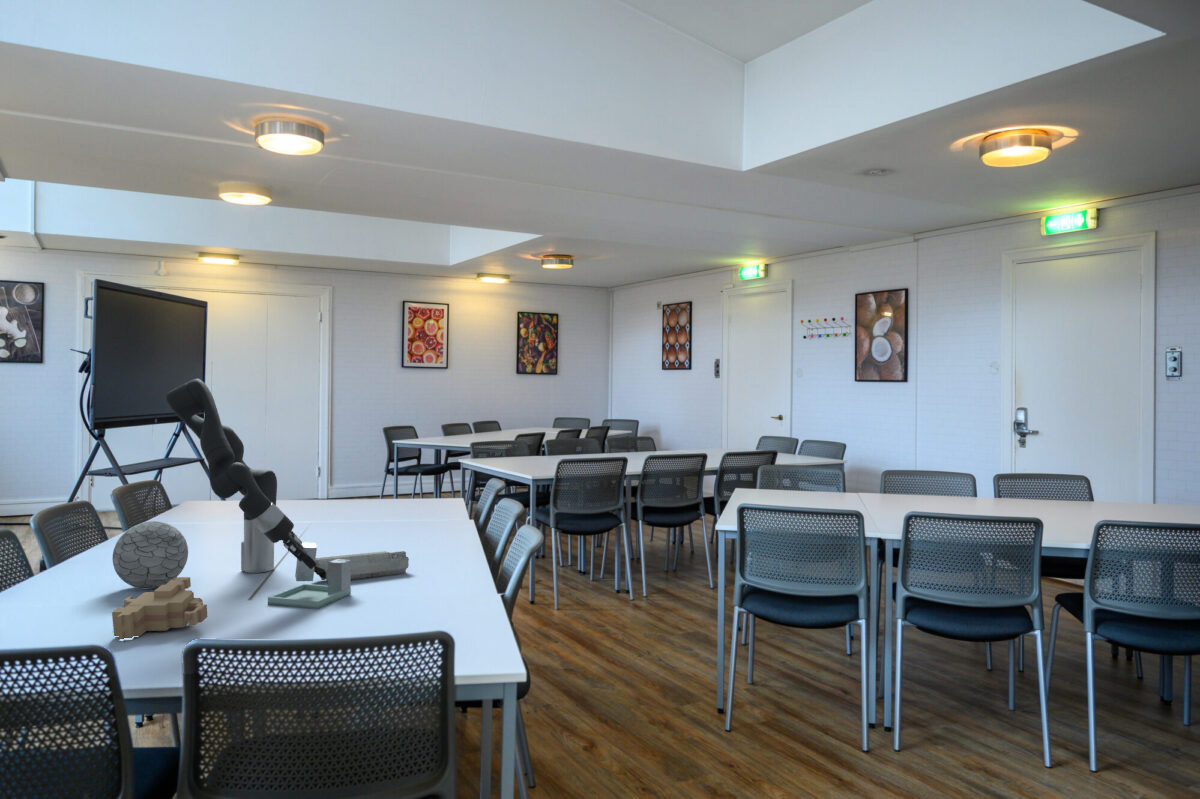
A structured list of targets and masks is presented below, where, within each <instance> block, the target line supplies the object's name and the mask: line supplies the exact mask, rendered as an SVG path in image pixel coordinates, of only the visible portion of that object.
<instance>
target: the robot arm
mask: <svg viewBox="0 0 1200 799" xmlns="http://www.w3.org/2000/svg"><path fill="white" fill-rule="evenodd" d="M165 400H166V403H167V405H168V406H169V408H170V409H171V411H172V412H173V413H174V414H175V415H176V416H177V417H178V418H179V419H180V420H181V421H182V422H183V423H184V424H185V425H186V426H187V427H188V428H189V430H191V431H192V432H193V433H194V435H195V436H196V437H197V438H198V439H199V443H200V444H199V446H200V448H201V451H202V454H203V455H204V458H205V459H206V462H207V465H208V466H207V467H208V473H209V474H208V476H209V485H210V487H211V490H212V491H213V493H214V494H215V496H217V497H219V498H221V499H229V498H231V497H233V496H234V495H235V494H237V493H238V492H239V493H240V494H241V495H242V496H243V497H242V498H241V499H240V501H239V503H238V507H239V509H240V510H241V511H242V512H243V541H241V542H240V546H241V547H240V570H242V571H241V572H244V571H245V572H244V573H250V574H251V573H252V574H256V573H258V574H260V573H265V572H266V573H267V572H271V571H273V570H274V569H275V544H276V543H278V542H279V541H282V543H283V544H282V545H283V547H284V548H285V549H286V550H287V552H290V554H292V555H293V556H294V557H295V558H296V560H297V559H298V560H299V561H303V562H304V563H305V564H306V565H307V566H308V567H309V568H310V569H312V568H313V567H315V566H316V562H315V561H314V560H313V559H312V558H311V557H310V556H309V555H308V553H306V551H305V550H304V546H303V545H302V544H301V543H303V541H302V540H301V539H300V538H299V536H298V535H297V534H296V533H295V532H294V531H293V529H294V527H295V524H294V523H293V522H292V520H291V519H290V518H289V517H288V516H287V515H286V514H285V513H284V512H283V511H282V510H281V509H280V507H278V506H277V496H278V495H277V493H278V478H277V476H276V473H275V472H274V471H272V470H270V469H256V468H251V467H249V466H248V465H247V464H246V462H245V461H244V460H243V459H244V452H245V446H244V444H243V441H242V439H241V438H240V437H239V436H238V435H237V434H236V432H235V430H233V429H232V428H231V427H230V426H227V425H226V424H223V423H222V421H221V419H220V415H219V414H220V413H219V411H218V408H217V405H216V402H215V399H214V396H213V394H212V392H211V390H210V389H209V387H208V386H207V384H206V383H205V382H204V381H203V380H201V379H200V378H194V379H192V380H188V381H187V382H185V383H183V384H181V385H178V386H177V387H175V388H173V389H171V390H170V391H168V392H167V393H166V396H165ZM203 411H204V418H202V417H200V416H199V415H197V414H199V413H201V412H203ZM300 553H303V554H302V555H301V556H299V554H300Z"/></svg>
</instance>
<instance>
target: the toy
mask: <svg viewBox="0 0 1200 799" xmlns="http://www.w3.org/2000/svg"><path fill="white" fill-rule="evenodd" d="M191 587H192V583H191V577H190V576H189V577H187V576H185V577H183V576H181V577H179V576H177V577H174V578H173V580H170V581H169V582H168V583H167V584H165V585H161V586H160V587H158V588H155V590H154V591H150V592H149V591H147V592H146V591H145V592H142V593H141V594H140V595H139V596H136V598H133V595H129V596H127V597H126V598H125V599H123V604H124V605H123V606H124V607H116V608H115V609H114V610H113V611H112V612H111V616H112V626H113V627H112V628H113V637H114V636H119V638H118V640H119V639H124V638H132V637H133V636H139V635H141V634H142V633H143V634H145V632H147V631H149V632H150V631H151V632H152V631H159V632H160V631H168V630H169V629H170V628H185V627H186V625H187V624H188V626H197V624H199V623H203V622H204V621H205V620H206V619H207V618H208V617H209V615H208V605H207V604H204V602H203V599H202V598H201V597H195V593H194V591H193V590H187V589H189V588H191ZM143 634H142V635H143ZM142 635H141V636H142Z"/></svg>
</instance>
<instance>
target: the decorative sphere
mask: <svg viewBox="0 0 1200 799" xmlns="http://www.w3.org/2000/svg"><path fill="white" fill-rule="evenodd" d="M188 557H189V547H188V544H187V540H186V538H185V536H184V535H183V534H182V532H181V531H180V530H179V529H178V528H176V526H175V527H174V526H173V525H171V524H169V523H166V522H163V521H156V520H153V521H151V520H150V521H145V522H141V523H138V524H136V525H133V526H131V527H130V528H128V529H127V530H126V531H124V533H123V534H122V535H121V536H120V537H119V538H118V540H117V541H116V543H115V546H114V548H113V551H112V565H113V569H114V571H115V573H116V575H117V576H118V577H119V578H120V580H122V581H123V582H124V583H126V584H127V585H128V586H130V587H134V588H136V589H141V588H153V589H157V588H156V587H160V586H161V585H165V584H167V583H168V582H169V581H170V580H173V578H174V577H179V575H181V573H182V572H183V571H184V568H185V567H186V564H187V563H188Z"/></svg>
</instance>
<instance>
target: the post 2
mask: <svg viewBox="0 0 1200 799" xmlns="http://www.w3.org/2000/svg"><path fill="white" fill-rule="evenodd" d="M351 581H352V580H351V560H343V559H336V560H333V561H330V562H328V580H327V586H328V595H332V594H334V593H336V592H339V591H343V590H346V589H348V588H351Z"/></svg>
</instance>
